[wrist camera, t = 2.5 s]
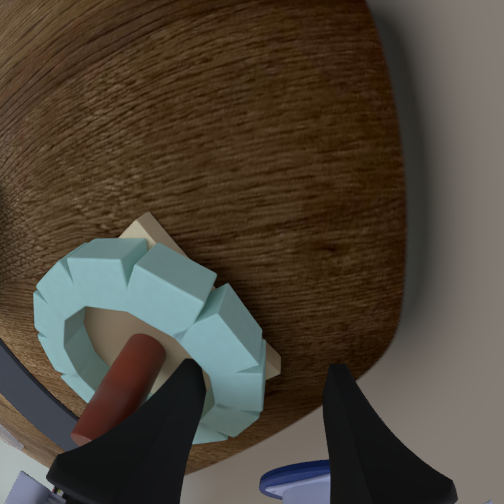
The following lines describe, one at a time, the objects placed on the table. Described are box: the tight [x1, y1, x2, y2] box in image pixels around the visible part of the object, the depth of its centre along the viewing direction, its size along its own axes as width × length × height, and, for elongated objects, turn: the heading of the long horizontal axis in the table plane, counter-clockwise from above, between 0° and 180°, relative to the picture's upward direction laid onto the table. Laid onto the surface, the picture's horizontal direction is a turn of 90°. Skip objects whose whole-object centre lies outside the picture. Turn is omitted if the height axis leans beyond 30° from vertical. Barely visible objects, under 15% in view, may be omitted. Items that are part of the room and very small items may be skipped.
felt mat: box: [0, 339, 79, 452], centre depth 22 cm, size 18×18×1 cm
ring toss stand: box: [71, 212, 281, 447], centre depth 10 cm, size 9×9×7 cm
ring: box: [33, 238, 266, 444], centre depth 11 cm, size 11×11×2 cm
